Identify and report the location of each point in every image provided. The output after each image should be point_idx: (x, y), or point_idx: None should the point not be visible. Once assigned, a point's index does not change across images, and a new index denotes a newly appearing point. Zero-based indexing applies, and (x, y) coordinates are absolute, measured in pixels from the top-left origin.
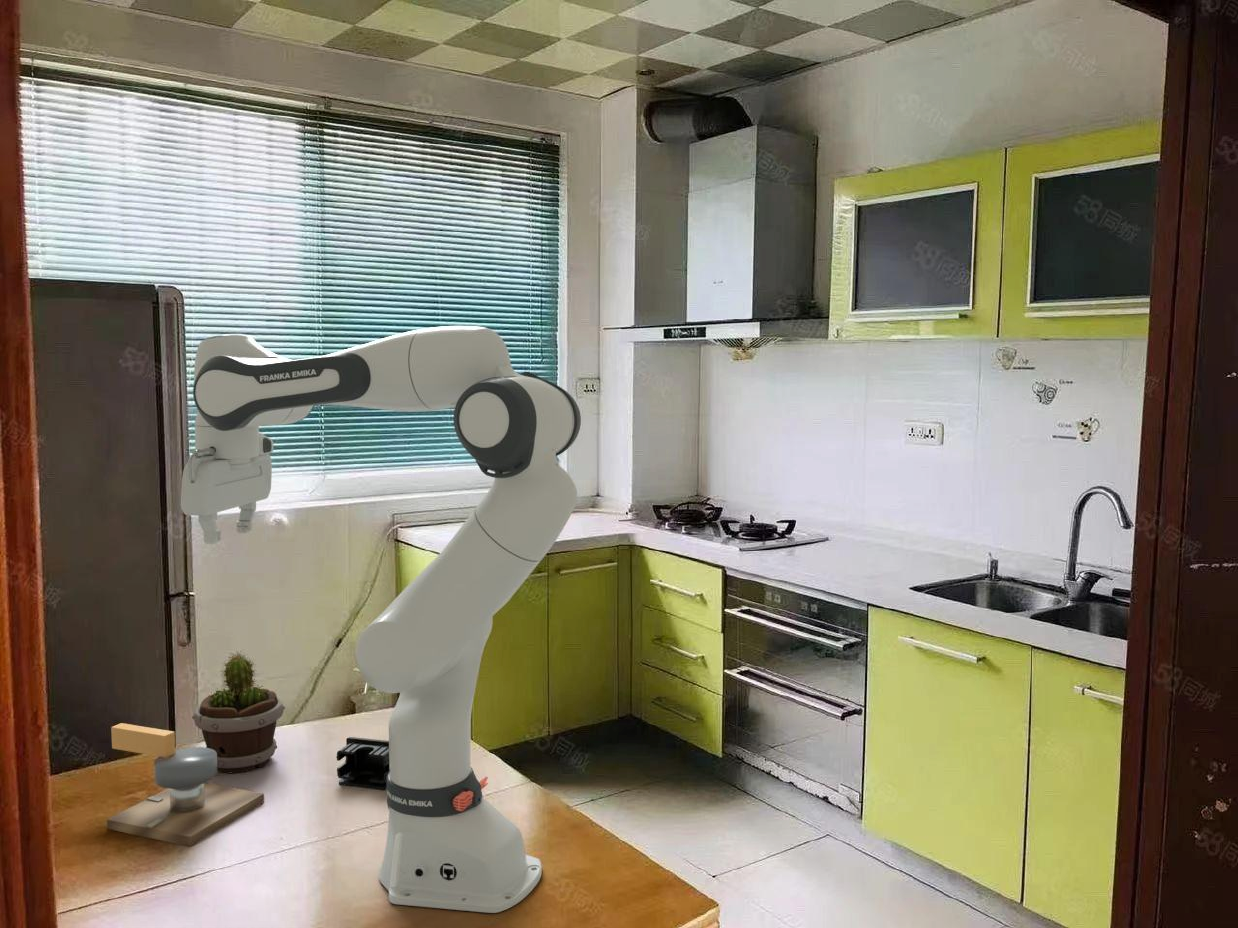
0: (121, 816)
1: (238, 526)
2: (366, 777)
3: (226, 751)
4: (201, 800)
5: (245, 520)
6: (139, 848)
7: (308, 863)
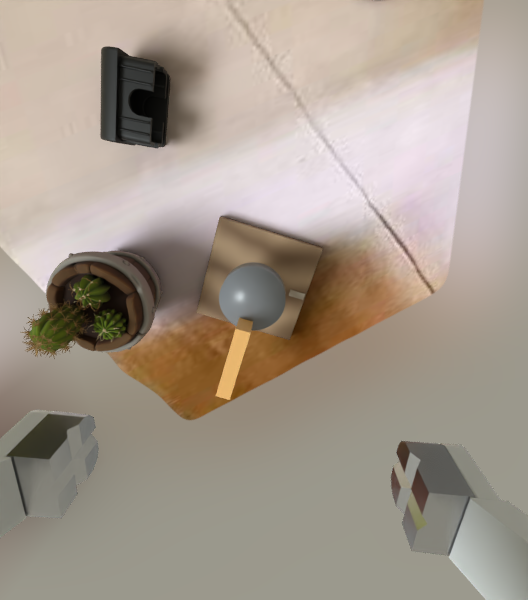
0: (282, 330)
1: (77, 479)
2: (145, 113)
3: (154, 291)
4: None
5: (13, 483)
6: (325, 290)
7: (359, 104)
